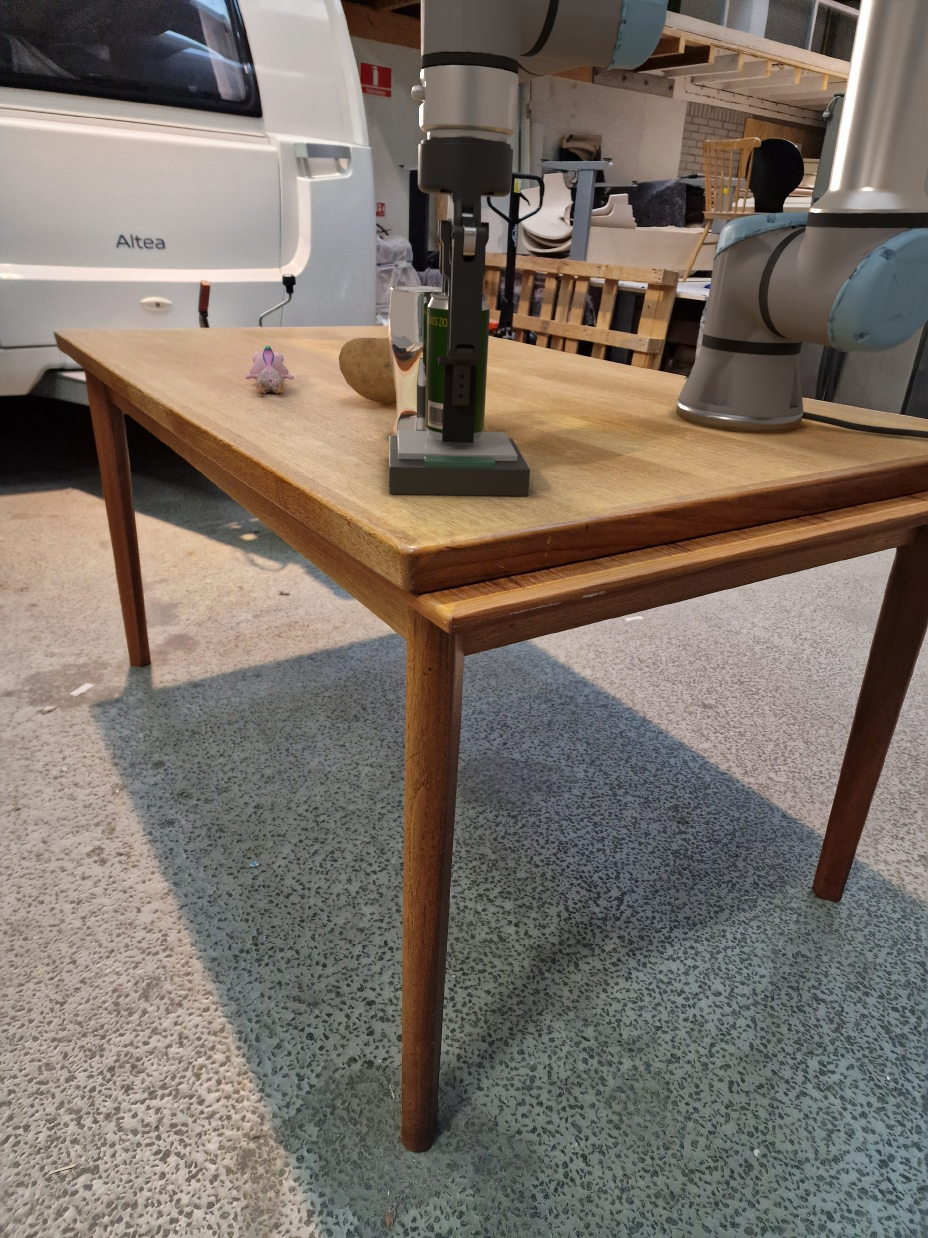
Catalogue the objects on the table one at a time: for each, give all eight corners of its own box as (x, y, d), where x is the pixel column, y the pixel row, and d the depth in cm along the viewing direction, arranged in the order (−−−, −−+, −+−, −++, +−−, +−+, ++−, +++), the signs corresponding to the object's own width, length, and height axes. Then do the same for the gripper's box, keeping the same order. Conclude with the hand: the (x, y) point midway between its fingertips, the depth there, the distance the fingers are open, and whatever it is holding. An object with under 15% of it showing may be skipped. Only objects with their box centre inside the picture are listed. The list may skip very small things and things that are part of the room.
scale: (511, 462, 81) (513, 432, 79) (528, 496, 71) (530, 462, 70) (389, 460, 80) (389, 429, 78) (389, 494, 70) (389, 459, 68)
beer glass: (445, 448, 84) (450, 292, 78) (380, 442, 86) (379, 288, 79) (458, 433, 91) (464, 287, 84) (398, 428, 92) (399, 284, 85)
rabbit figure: (296, 406, 106) (290, 367, 118) (294, 360, 102) (288, 325, 114) (246, 406, 104) (245, 367, 116) (243, 360, 101) (242, 324, 113)
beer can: (466, 445, 71) (472, 298, 66) (413, 436, 74) (415, 293, 68) (493, 434, 76) (501, 295, 70) (443, 425, 78) (447, 290, 73)
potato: (456, 411, 101) (458, 343, 97) (341, 411, 98) (339, 341, 95) (444, 396, 110) (446, 333, 106) (338, 395, 107) (336, 330, 104)
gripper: (415, 145, 72) (411, 410, 82) (423, 123, 56) (417, 458, 66) (499, 149, 73) (485, 412, 83) (531, 130, 56) (509, 460, 67)
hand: (455, 432), depth 74 cm, fingers closed on beer can, 5 cm apart
